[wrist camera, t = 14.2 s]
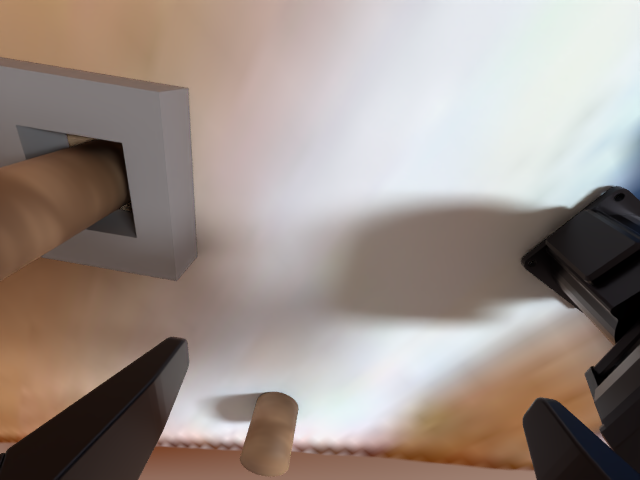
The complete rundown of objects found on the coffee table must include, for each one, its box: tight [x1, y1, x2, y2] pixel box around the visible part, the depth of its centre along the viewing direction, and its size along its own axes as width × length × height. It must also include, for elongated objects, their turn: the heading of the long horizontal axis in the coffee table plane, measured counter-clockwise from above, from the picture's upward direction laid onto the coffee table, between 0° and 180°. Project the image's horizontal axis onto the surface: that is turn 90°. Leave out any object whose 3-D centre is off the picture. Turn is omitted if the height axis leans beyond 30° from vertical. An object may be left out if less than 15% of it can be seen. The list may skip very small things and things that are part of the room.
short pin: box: [240, 392, 298, 476], centre depth 28 cm, size 4×4×5 cm
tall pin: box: [0, 139, 131, 281], centre depth 14 cm, size 4×4×14 cm
